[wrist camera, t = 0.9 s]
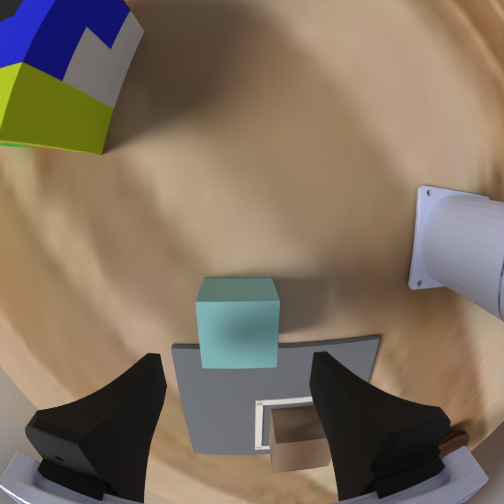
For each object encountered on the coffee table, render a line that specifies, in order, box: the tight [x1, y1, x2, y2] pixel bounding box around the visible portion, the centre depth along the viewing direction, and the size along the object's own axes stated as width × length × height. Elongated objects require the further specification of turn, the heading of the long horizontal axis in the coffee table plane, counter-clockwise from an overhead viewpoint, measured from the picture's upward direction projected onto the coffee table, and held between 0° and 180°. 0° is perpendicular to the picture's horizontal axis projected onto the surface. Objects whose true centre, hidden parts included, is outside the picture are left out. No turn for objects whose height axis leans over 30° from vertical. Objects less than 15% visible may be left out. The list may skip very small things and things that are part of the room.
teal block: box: [196, 277, 280, 369], centre depth 17 cm, size 4×4×4 cm
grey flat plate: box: [171, 335, 379, 455], centre depth 21 cm, size 16×14×1 cm
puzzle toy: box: [0, 0, 144, 155], centre depth 9 cm, size 10×10×10 cm
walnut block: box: [269, 405, 331, 473], centre depth 19 cm, size 5×5×4 cm
